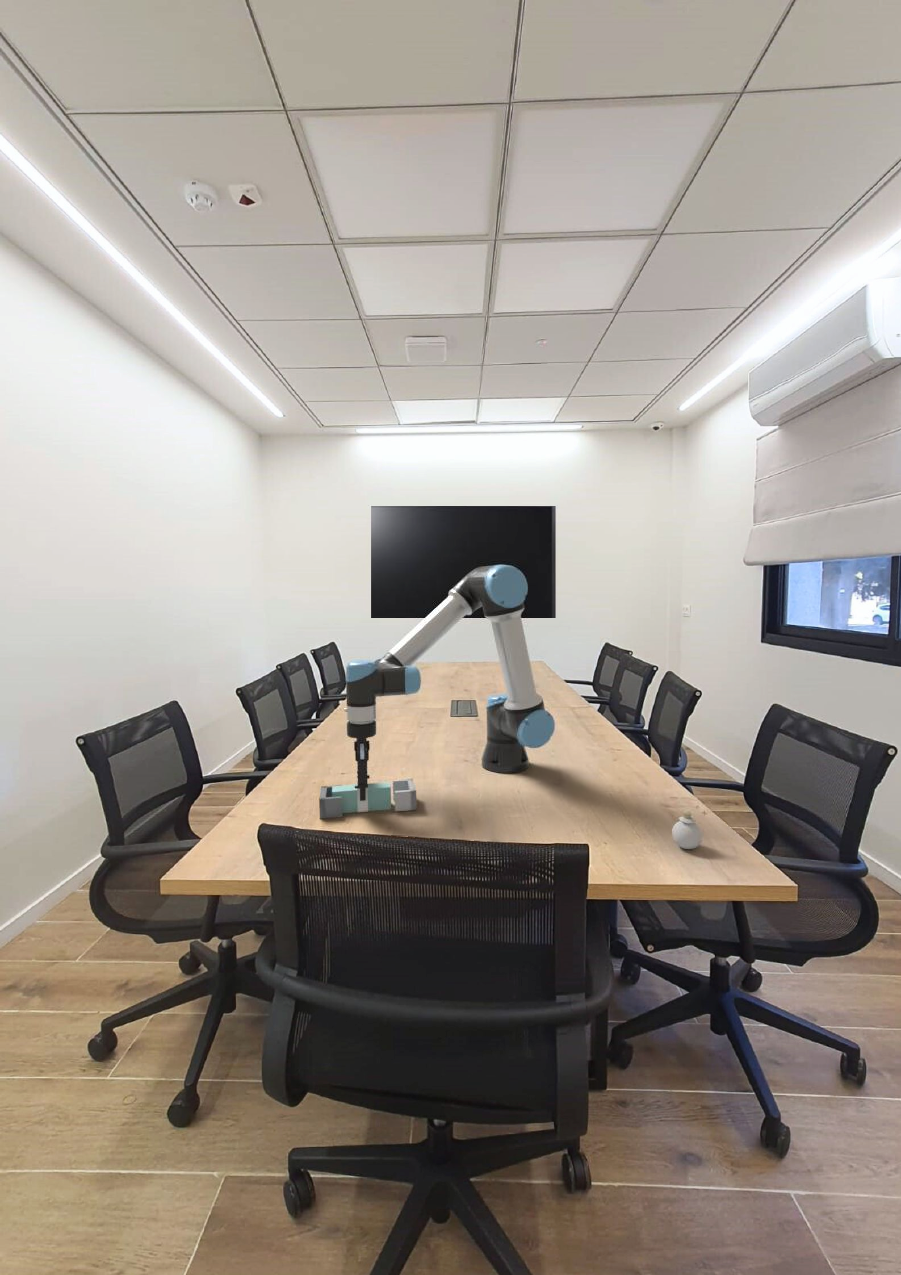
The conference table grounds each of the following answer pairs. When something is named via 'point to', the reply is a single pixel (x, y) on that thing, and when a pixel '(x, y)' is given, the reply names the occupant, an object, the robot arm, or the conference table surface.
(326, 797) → the cap
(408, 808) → the sliding cap
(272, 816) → the conference table surface
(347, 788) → the block
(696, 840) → the ornament
